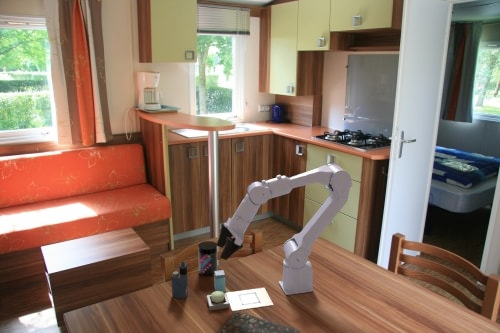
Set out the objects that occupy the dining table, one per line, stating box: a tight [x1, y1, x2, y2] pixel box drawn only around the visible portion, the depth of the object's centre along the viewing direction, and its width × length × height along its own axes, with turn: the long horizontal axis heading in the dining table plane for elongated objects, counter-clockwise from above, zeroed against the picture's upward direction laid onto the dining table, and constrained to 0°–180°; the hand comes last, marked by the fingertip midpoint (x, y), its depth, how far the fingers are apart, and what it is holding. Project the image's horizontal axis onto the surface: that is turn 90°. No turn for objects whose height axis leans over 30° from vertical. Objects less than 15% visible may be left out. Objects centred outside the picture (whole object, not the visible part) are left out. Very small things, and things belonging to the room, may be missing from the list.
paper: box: [225, 287, 274, 312], centre depth 128 cm, size 13×10×1 cm
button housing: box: [206, 292, 230, 311], centre depth 125 cm, size 6×6×2 cm
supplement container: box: [197, 240, 219, 277], centre depth 143 cm, size 7×7×10 cm
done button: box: [210, 290, 225, 304], centre depth 125 cm, size 4×4×2 cm
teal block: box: [213, 269, 226, 293], centre depth 133 cm, size 3×3×6 cm
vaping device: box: [170, 261, 189, 299], centre depth 128 cm, size 3×5×12 cm, turn 78°
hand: (221, 252), depth 128 cm, fingers open, 7 cm apart
